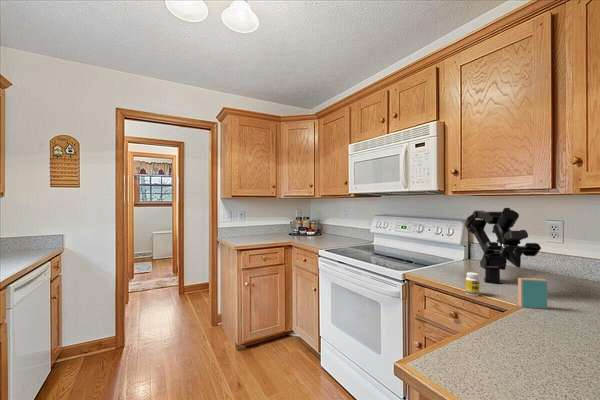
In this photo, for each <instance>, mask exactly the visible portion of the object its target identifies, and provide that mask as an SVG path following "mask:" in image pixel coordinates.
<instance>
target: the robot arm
mask: <svg viewBox="0 0 600 400" xmlns="http://www.w3.org/2000/svg"><path fill="white" fill-rule="evenodd" d="M519 217H520V215H519V213H518V212H516V211H515V210H513V209H511V208H510V207H504V208H503V209H502V211H485V210H474V211H473V212H472V213H471V214H470V215H469V216H467V217H466V220H465V223H464V227H465V228H466V230H467V231H468V232H469V233H471V234H473V235H474V237H475V239H476V241H477V243H478V244H479V246H480V249H481V250H482V252H483V255H482V257H481V259H480V262H479V266H480V268H482V269H483V270H484V277H483V281H484V283H491V284H497V285H502V284H503V282H502V281H501V270H504V271H505V270H506V267H507V261H509V262H510V263H511V264H512V265H513V266H514V267H515V268H517V269H519V268H521V266H522V265H521V259H522V255H524V256H526V257H535V256H537V255H538V253H539V252H540V250H541V249H542V247H541V245H540V244H539V243H538V242H537V243H536V242H526V243H525V244H524V245H520V244H521V243H522V240H525V239H527V238H528V237H529V234H528V232H527V230H526V229H520V230H511V228H513V227H514V226H515V224H516V223H517V221H518V219H519ZM487 224H488V225H493V227H492V234H495V236H496V238H497V239H496V241H491V240H490V238H489V236H488V235H487V232H486V231H485V227H486V225H487Z"/></svg>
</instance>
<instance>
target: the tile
mask: <svg viewBox="0 0 600 400" xmlns="http://www.w3.org/2000/svg"><path fill="white" fill-rule="evenodd" d="M517 305H518V307H521V308H525V309H526V308H527V309H529V308H531V309H541V310H542V309H543V310H548V279H545V278H533V277H530V278H529V277H518V278H517Z"/></svg>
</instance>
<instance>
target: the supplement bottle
mask: <svg viewBox="0 0 600 400" xmlns="http://www.w3.org/2000/svg"><path fill="white" fill-rule="evenodd" d="M465 293H466V295H468V296H472V297H473V296H474V297H478V296H479V295H480V278H479V274H478V273H476V272H470V271H469V272H466V277H465Z"/></svg>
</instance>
